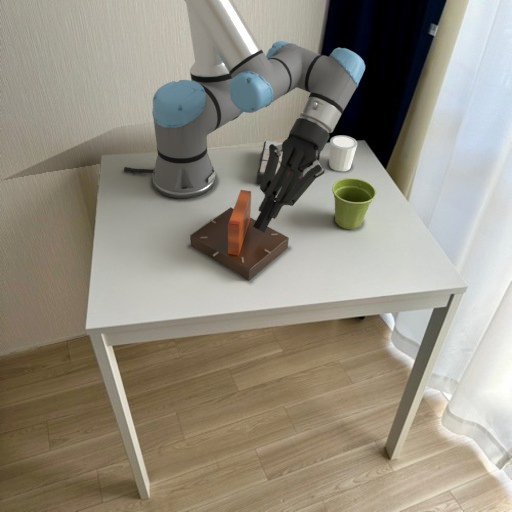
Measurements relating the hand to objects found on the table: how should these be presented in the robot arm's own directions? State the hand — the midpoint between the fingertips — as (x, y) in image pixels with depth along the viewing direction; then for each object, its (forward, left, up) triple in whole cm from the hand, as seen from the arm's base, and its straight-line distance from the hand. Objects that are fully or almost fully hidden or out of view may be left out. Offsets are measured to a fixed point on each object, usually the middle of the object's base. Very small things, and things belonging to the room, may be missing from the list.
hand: (258, 229), depth 106 cm
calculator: (-15, +29, -6) cm, 33 cm away
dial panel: (-4, -1, -6) cm, 7 cm away
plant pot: (+9, +22, -6) cm, 24 cm away
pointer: (-4, -1, -3) cm, 5 cm away
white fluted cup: (-5, +41, -6) cm, 41 cm away
